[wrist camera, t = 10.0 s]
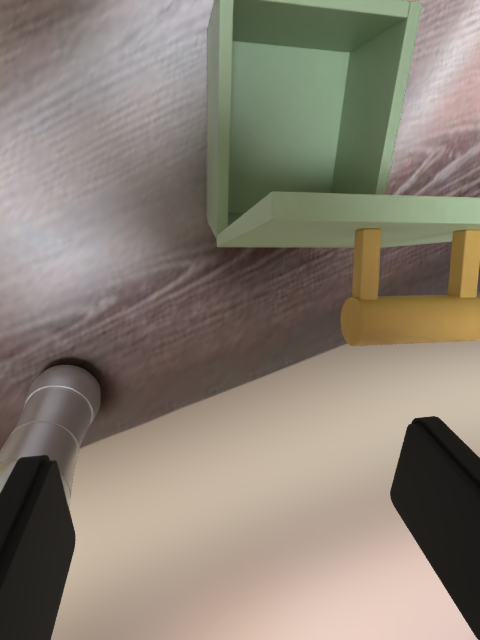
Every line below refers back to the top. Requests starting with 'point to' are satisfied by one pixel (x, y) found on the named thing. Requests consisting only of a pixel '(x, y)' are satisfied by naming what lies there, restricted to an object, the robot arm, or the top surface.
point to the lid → (367, 238)
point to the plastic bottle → (54, 421)
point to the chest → (303, 98)
